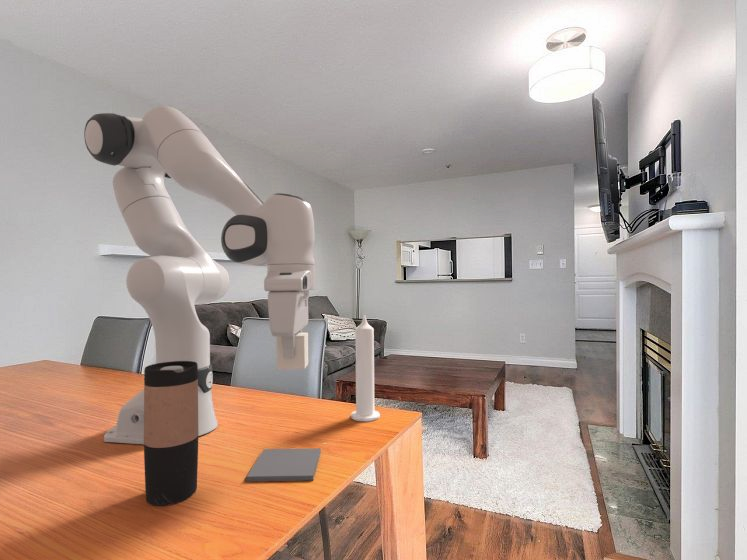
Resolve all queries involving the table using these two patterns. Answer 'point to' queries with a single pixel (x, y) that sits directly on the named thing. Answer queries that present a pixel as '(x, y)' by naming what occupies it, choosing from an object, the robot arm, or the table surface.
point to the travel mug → (170, 431)
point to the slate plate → (285, 465)
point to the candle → (364, 373)
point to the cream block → (300, 353)
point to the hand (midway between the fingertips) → (292, 355)
